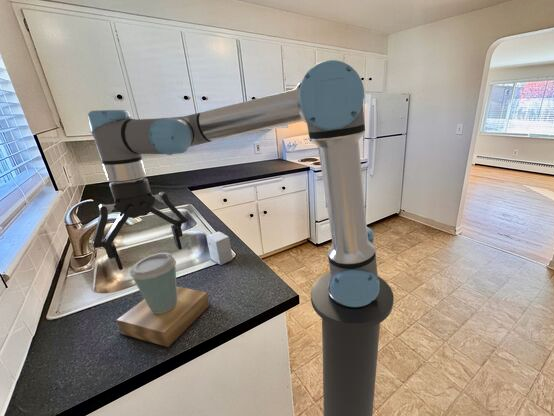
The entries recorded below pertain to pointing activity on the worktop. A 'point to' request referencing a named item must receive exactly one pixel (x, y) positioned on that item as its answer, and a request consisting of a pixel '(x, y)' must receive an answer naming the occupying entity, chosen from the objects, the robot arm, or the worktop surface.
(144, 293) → the disposable coffee cup
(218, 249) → the small box
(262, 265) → the worktop surface
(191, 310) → the maple block
